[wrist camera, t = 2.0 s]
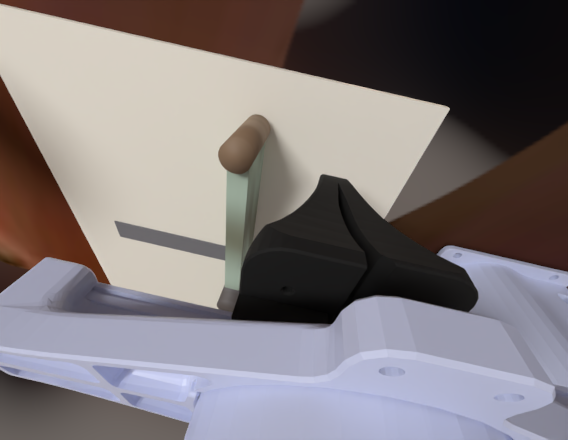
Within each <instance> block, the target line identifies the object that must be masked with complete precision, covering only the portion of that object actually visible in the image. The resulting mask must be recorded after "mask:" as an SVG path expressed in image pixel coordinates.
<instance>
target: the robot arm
mask: <svg viewBox="0 0 568 440" xmlns="http://www.w3.org/2000/svg"><path fill="white" fill-rule="evenodd" d="M456 253H457V254H456ZM567 286H568V272H565V271H561V270H556V269H552V268H548V267H543V266H539V265H535V264H530V263H526V262H522V261H517V260H513V259H508V258H504V257H500V256H495V255H491V254H487V253H482V252H478V251H474V250H469V249H465V248H461V247H456V246H445V247H443V248H442V249H441V250H440V251H439V252H438V254H437V255H436V254H434V253H433V252H431V251H429V250H427V249H426V248H424V247H422V246H421V245H419V244H417V243H416V242H414V241H413V240H411V239H410V238H408V237H407V236H405V235H404V234H402V233H401V232H399V231H398V230H397V229H395V228H394V227H393V226H392V225H390V224H389V223H388V222H387V221H385V220H384V219H383V218H382V217H381V216H380V215H379V214H378V213H377V212H376V211H375V210H374V209H373V208H372V207H371V206H370V205H369V204H368V203H367V202H366V201H365V199H364V198H363V197H362V196H361V195H360V194H359V192H358V191H357V190H356V189H355V188H354V186H353V185H352V184H351V183H350V182H349V181H348V180H347V179H343V178H339V177H335V176H330V175H326V174H322V175H320V178H319V181H318V185H317V187H316V189H315V191H314V192H313V193H312V195H311V196H310V197H309V198H308V199H307V200H306V201H305V203H303V204H302V205H301V206H300V207H299V208H298V209H296V210H295V211H294V212H292V213H291V214H289V215H287V216H285V217H284V218H282V219H280V220H278V221H275V222H272V223H269V224H266V225H265V226H264V227H263V228H262V230H261V231H260V232H259V233H258V235H257V236H256V238H255V239H254V241H253V242H252V244H251V246H250V247H249V249H248V251H247V253H246V256H245V259H244V262H243V265H242V269H241V278H240V289H239V295H238V298H237V301H236V304H235V307H234V310H233V312H229V311H224V310H220V309H215V308H211V307H206V306H202V305H197V304H193V303H189V302H184V301H180V300H175V299H171V298H166V297H162V296H157V295H153V294H148V293H144V292H139V291H135V290H130V289H126V288H122V287H117V286H113V285H108V284H104V283H99V282H97V279H96V276H95V274H94V273H93V272H92V270H91V269H89V268H88V267H86V266H84V265H81V264H77V263H73V262H68V261H64V260H59V259H55V258H50V257H49V258H45V259H43V260H42V261H41V262H40V263H38V264H37V265H36V266H34V267H33V268H32V269H31V270H29V271H28V272H27V273H26V274H24V275H23V276H22V277H21V278H19V279H18V280H17V281H16V282H14V283H13V284H12V285H11V286H9V287H8V288H7V289H6V290H4V291H3V292H2V293H0V370H2V371H4V372H6V373H7V374H9V375H13V376H17V377H21V378H25V379H30V380H34V381H38V382H43V383H47V384H51V385H55V386H59V387H62V388H66V389H70V390H74V391H78V392H81V393H85V394H89V395H92V396H96V397H100V398H103V399H107V400H110V401H114V402H117V403H121V404H124V405H128V406H131V407H135V408H139V409H142V410H145V411H149V412H153V413H156V414H160V415H163V416H167V417H171V418H174V419H177V420H181V421H184V422H188V423H189V426H188V429H187V432H186V435H185V438H184V440H568V289H567V288H566V287H567Z"/></svg>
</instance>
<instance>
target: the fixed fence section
mask: <svg viewBox="0 0 568 440" xmlns="http://www.w3.org/2000/svg"><path fill="white" fill-rule="evenodd" d="M239 289H240V288H239ZM238 295H239V291H238V290H234V289H230V288H225V285H224V287H223V290H222V292H221V295H220V297H219V300H218V302H217V307H218V308H219V309H220V310H224V311H229V312H233V310H234V307H235V304H236V301H237V298H238Z"/></svg>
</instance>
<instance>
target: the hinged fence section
mask: <svg viewBox="0 0 568 440" xmlns="http://www.w3.org/2000/svg"><path fill="white" fill-rule="evenodd" d="M270 131H271V128H270V124H269V122H268V120H267V119H266V118H265V117H264V116H262V115H258V114H254V115H251V116H250V117H249V118H248V119H247V120H246V121H245V122H244V123H243V124H242V125H241V126H240V127H239V128H238V129H237V130H236V131H235V132H234V133H233V134H232V135H231V136H230V137H229V138H228V139H227V140H226V141H225V142H224V143H223V144H222V145H221V147H220V148H219V151H218V158H219V161H220V163H221V165H222V166H223V167H224V168H225V169H226V170H227V187H226V246H225V288H230V289H234V290H238V291H239V288H240V278H241V269H242V265H243V262H244V259H245V256H246V253H247V251H248V249H249V247H250V246H251V244H252V242H253V237H254V229H255V221H256V213H257V205H258V197H259V189H260V181H261V173H262V165H263V157H264V149H265V142H266V140H267V138H268V136H269V134H270Z"/></svg>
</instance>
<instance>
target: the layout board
mask: <svg viewBox="0 0 568 440" xmlns="http://www.w3.org/2000/svg"><path fill="white" fill-rule="evenodd" d="M0 76H1V77H2V79H3V81H4V83H5V85H6V87H7V89H8V91H9V93H10V94H11V96H12V98H13V100H14V102H15V104H16V106H17V108H18V110H19V111H20V113H21V115H22V117H23V119H24V121H25V123H26V125H27V127H28V128H29V130H30V132H31V134H32V136H33V138H34V140H35V142H36V144H37V145H38V147H39V149H40V151H41V153H42V155H43V157H44V159H45V161H46V162H47V164H48V166H49V168H50V170H51V172H52V174H53V176H54V178H55V179H56V181H57V183H58V185H59V187H60V189H61V191H62V193H63V195H64V197H65V198H66V200H67V202H68V204H69V206H70V208H71V210H72V212H73V214H74V215H75V217H76V219H77V221H78V223H79V225H80V227H81V229H82V231H83V232H84V234H85V236H86V238H87V240H88V242H89V244H90V246H91V248H92V249H93V251H94V253H95V255H96V257H97V259H98V261H99V263H100V265H101V266H102V268H103V270H104V272H105V274H106V276H107V278H108V280H109V282H110V283H111V285H113V286H117V287H122V288H126V289H130V290H135V291H139V292H144V293H148V294H153V295H157V296H162V297H166V298H171V299H175V300H180V301H184V302H189V303H193V304H197V305H202V306H206V307H211V308H215V309H219V308H218V307H217V302H218V300H219V297H220V295H221V292H222V290H223V287H224V285H225V246H226V187H227V170H226V169H225V168H224V167H223V166H222V165H221V163H220V161H219V158H218V151H219V148H220V147H221V145H222V144H223V143H224V142H225V141H226V140H227V139H228V138H229V137H230V136H231V135H232V134H233V133H234V132H235V131H236V130H237V129H238V128H239V127H240V126H241V125H242V124H243V123H244V122H245V121H246V120H247V119H248V118H249V117H250V116H251V115H254V114H258V115H262V116H264V117H265V118H266V119H267V120H268V122H269V124H270V128H271V131H270V134H269V136H268V138H267V140H266V142H265V149H264V157H263V165H262V173H261V181H260V189H259V197H258V205H257V213H256V221H255V229H254V237H253V241H254V239H255V238H256V236H257V235H258V233H259V232H260V231H261V230H262V228H263V227H264V226H265V225H266V224H269V223H272V222H275V221H278V220H280V219H282V218H284V217H285V216H287V215H289V214H291V213H292V212H294V211H295V210H296V209H298V208H299V207H300V206H301V205H302V204H303V203H305V201H306V200H307V199H308V198H309V197H310V196H311V195H312V193H313V192H314V191H315V189H316V187H317V185H318V181H319V178H320V175H322V174H326V175H330V176H335V177H339V178H343V179H347V180H348V181H349V182H350V183H351V184H352V185H353V186H354V188H355V189H356V190H357V191H358V192H359V194H360V195H361V196H362V197H363V198H364V199H365V201H366V202H367V203H368V204H369V205H370V206H371V207H372V208H373V209H374V210H375V211H376V212H377V213H378V214H379V215H380V216H381V217H382V218H383V219H384V218H385V217H386V215H387V214H388V212H389V210H390V209H391V207H392V205H393V204H394V202H395V200H396V199H397V197H398V195H399V194H400V191H401V190H402V189H403V187H404V185H405V184H406V182H407V180H408V178H409V177H410V175H411V173H412V172H413V170H414V168H415V167H416V165H417V163H418V162H419V160H420V158H421V157H422V155H423V153H424V152H425V150H426V148H427V147H428V145H429V143H430V142H431V140H432V138H433V136H434V135H435V133H436V131H437V130H438V128H439V126H440V125H441V123H442V121H443V120H444V118H445V116H446V115H447V113H448V111H449V109H450V108H448V107H446V106H443V105H439V104H434V103H430V102H425V101H421V100H417V99H413V98H408V97H404V96H400V95H395V94H390V93H386V92H382V91H378V90H373V89H369V88H364V87H360V86H356V85H351V84H347V83H343V82H338V81H334V80H330V79H325V78H321V77H317V76H312V75H308V74H303V73H299V72H295V71H291V70H286V69H282V68H278V67H273V66H269V65H264V64H260V63H256V62H251V61H247V60H243V59H238V58H234V57H230V56H225V55H221V54H217V53H212V52H208V51H203V50H199V49H195V48H190V47H186V46H182V45H177V44H173V43H169V42H164V41H160V40H156V39H151V38H147V37H143V36H138V35H134V34H129V33H125V32H121V31H116V30H112V29H108V28H103V27H99V26H95V25H90V24H86V23H82V22H77V21H73V20H68V19H64V18H60V17H55V16H51V15H47V14H42V13H38V12H34V11H29V10H25V9H21V8H16V7H12V6H7V5H3V4H0Z"/></svg>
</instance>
